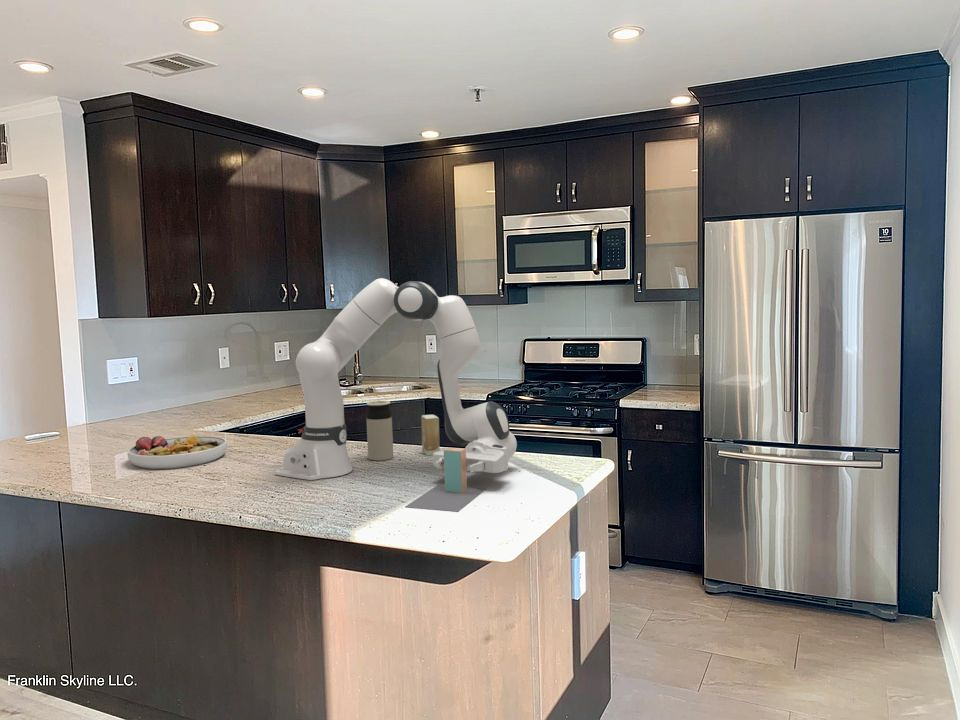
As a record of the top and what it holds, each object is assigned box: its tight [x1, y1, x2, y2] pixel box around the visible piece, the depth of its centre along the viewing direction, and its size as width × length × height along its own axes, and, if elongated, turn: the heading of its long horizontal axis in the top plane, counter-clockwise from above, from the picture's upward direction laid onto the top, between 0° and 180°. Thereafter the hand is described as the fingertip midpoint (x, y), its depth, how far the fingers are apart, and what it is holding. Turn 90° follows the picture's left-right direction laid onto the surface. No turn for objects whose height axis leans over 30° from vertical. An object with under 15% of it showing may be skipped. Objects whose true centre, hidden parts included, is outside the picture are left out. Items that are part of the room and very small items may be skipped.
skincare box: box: [421, 414, 441, 456], centre depth 230 cm, size 6×4×12 cm
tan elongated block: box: [443, 447, 468, 493], centre depth 184 cm, size 5×3×11 cm, turn 66°
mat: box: [404, 484, 487, 513], centre depth 179 cm, size 14×20×1 cm
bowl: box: [127, 434, 228, 470], centre depth 232 cm, size 30×30×8 cm
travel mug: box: [365, 400, 394, 462], centre depth 225 cm, size 8×8×18 cm
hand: (453, 467), depth 184 cm, fingers open, 8 cm apart
